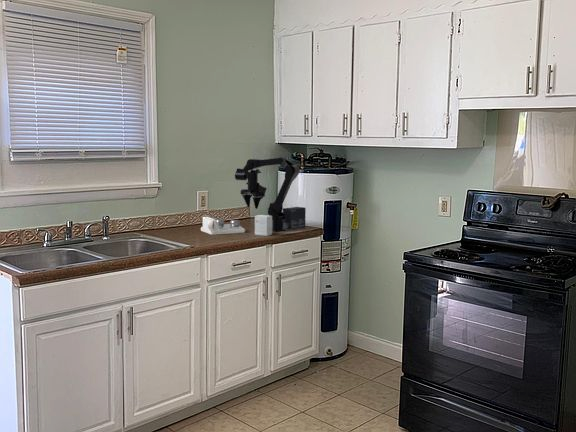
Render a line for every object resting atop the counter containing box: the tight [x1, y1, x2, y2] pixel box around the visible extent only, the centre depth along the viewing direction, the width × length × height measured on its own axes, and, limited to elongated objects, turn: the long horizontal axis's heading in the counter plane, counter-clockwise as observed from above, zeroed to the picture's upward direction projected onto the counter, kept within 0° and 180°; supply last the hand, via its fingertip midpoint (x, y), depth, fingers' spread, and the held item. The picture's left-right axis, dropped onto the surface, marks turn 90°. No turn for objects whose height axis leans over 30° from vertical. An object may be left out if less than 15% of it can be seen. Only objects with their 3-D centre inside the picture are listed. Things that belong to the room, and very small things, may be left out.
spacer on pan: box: [215, 218, 225, 226], centre depth 339 cm, size 5×5×3 cm
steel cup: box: [229, 219, 240, 227], centre depth 337 cm, size 5×5×3 cm
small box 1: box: [254, 214, 273, 237], centre depth 329 cm, size 8×6×10 cm
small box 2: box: [282, 206, 307, 230], centre depth 355 cm, size 13×7×12 cm, turn 136°
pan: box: [218, 223, 243, 230], centre depth 338 cm, size 12×12×1 cm
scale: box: [200, 216, 246, 235], centre depth 336 cm, size 15×22×8 cm
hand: (252, 207), depth 349 cm, fingers open, 9 cm apart
